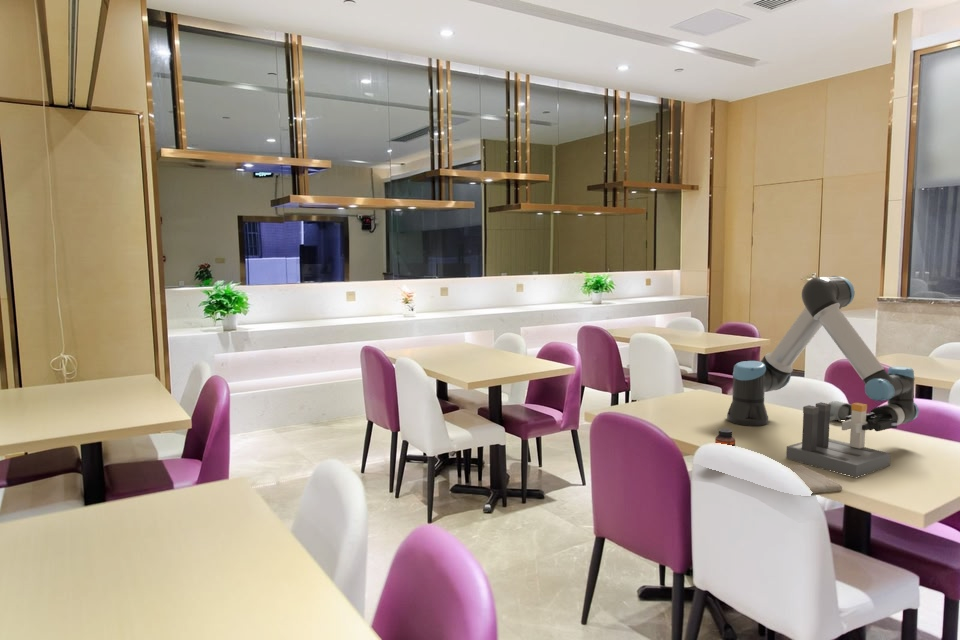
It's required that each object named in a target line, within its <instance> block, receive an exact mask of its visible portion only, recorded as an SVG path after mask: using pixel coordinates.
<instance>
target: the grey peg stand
mask: <svg viewBox="0 0 960 640" xmlns="http://www.w3.org/2000/svg"><path fill="white" fill-rule="evenodd" d="M802 408H803V409H802V413H803V414H802V415H803V417H802V418H803V419H802V437H801V441H800V442H798V443H794V444H791V445H788V446H786V451H785V453H786V456H785V459H787V460H791V461H793V460H794V462H797V461H798V462H797V463H800V462H801V464H804V463H805V464H804V465H807V464H808V466H811V465H812V466H811V467H814V466H816V467H815V468H818V467H819V469H821V468H823V469H822V470H825V469H827V470H826V471H828V470H831V471H830V472H832V471H835V472H838V473H837V474H839V473H842V474H846V475H850V476H853V477H858V476H861V475H864V474H866V475H868V474H867V473H869V474H871V473H870V472H872V473H874V472H877V471H879V470H878V469H880V470H882V469H885V468H887V466H888V467H890V465H891V452H885V451H884V450H883V451H881V450H879V449H873V448H870V447H866V446H864V447H863V448H860V449H859V448H855V447H851V446H850V442H845V441H841V440H836V439H832V438H829V437H830V422H831V421H830V410H831V404H829V403H828V402H823V401H822V402H821V401H820V402H817V403H815V406H814V405H809V404H808V405H804V406H803V407H802ZM884 467H885V468H884ZM881 468H882V469H881ZM876 470H877V471H876ZM873 471H874V472H873ZM835 472H834V473H835ZM842 474H841V475H842ZM846 475H845V476H846ZM864 476H865V475H864ZM853 477H852V478H853ZM861 477H862V476H861ZM858 478H859V477H858Z"/></svg>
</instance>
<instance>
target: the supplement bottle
mask: <svg viewBox="0 0 960 640" xmlns="http://www.w3.org/2000/svg"><path fill="white" fill-rule="evenodd" d="M715 443H721V444H727V445H732V446H735V447H736V438H735V437H734V436H733V430H732V429H730V428H719V429H718V435H716V436H715V438H714V444H715Z"/></svg>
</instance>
